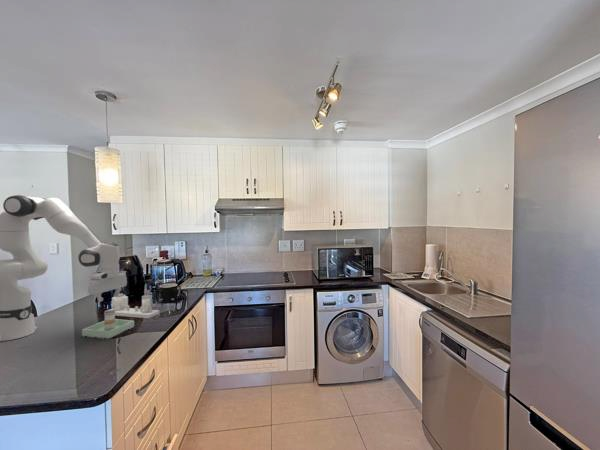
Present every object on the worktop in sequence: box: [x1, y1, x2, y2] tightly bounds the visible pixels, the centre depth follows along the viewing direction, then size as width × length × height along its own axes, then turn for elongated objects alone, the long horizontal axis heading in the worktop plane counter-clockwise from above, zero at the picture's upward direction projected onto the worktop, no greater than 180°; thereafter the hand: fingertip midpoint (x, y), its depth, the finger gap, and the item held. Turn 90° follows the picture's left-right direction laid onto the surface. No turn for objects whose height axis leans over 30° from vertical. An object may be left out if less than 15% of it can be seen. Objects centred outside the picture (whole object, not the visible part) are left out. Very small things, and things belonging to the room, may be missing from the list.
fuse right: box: [141, 294, 151, 313], centre depth 169 cm, size 5×5×10 cm
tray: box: [81, 318, 135, 340], centre depth 144 cm, size 16×16×4 cm
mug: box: [154, 283, 182, 304], centre depth 199 cm, size 16×16×12 cm
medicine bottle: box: [111, 288, 129, 309], centre depth 185 cm, size 7×7×12 cm
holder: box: [106, 305, 160, 319], centre depth 171 cm, size 32×9×5 cm, turn 79°
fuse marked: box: [103, 309, 116, 331], centre depth 144 cm, size 5×5×10 cm
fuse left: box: [114, 293, 123, 311], centre depth 173 cm, size 5×5×10 cm
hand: (108, 298), depth 144 cm, fingers open, 8 cm apart
